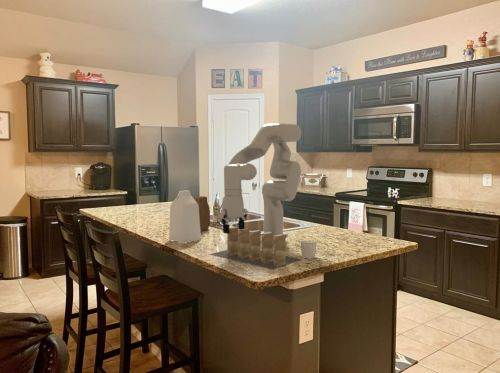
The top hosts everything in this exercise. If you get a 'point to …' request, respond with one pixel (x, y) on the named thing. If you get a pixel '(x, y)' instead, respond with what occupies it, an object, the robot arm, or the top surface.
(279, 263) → the domino
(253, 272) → the top surface
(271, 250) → the domino
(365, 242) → the top surface
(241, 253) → the domino
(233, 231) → the end domino
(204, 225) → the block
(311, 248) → the shot glass
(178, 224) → the milk
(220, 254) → the mat
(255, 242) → the domino
